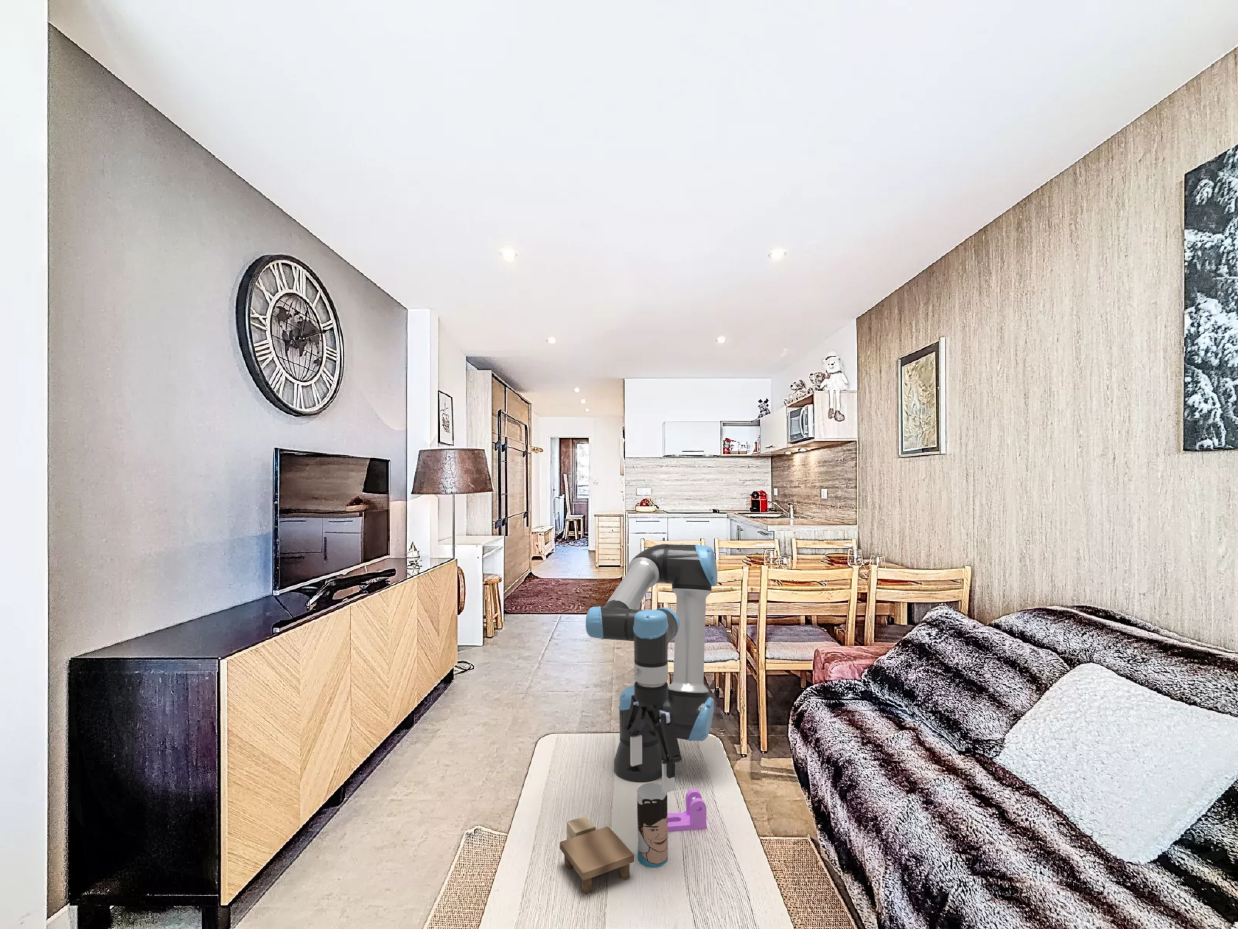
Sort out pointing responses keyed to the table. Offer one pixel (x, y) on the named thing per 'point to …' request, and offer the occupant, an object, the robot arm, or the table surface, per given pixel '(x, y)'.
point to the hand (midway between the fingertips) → (651, 777)
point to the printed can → (652, 825)
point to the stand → (596, 855)
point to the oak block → (579, 827)
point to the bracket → (689, 814)
